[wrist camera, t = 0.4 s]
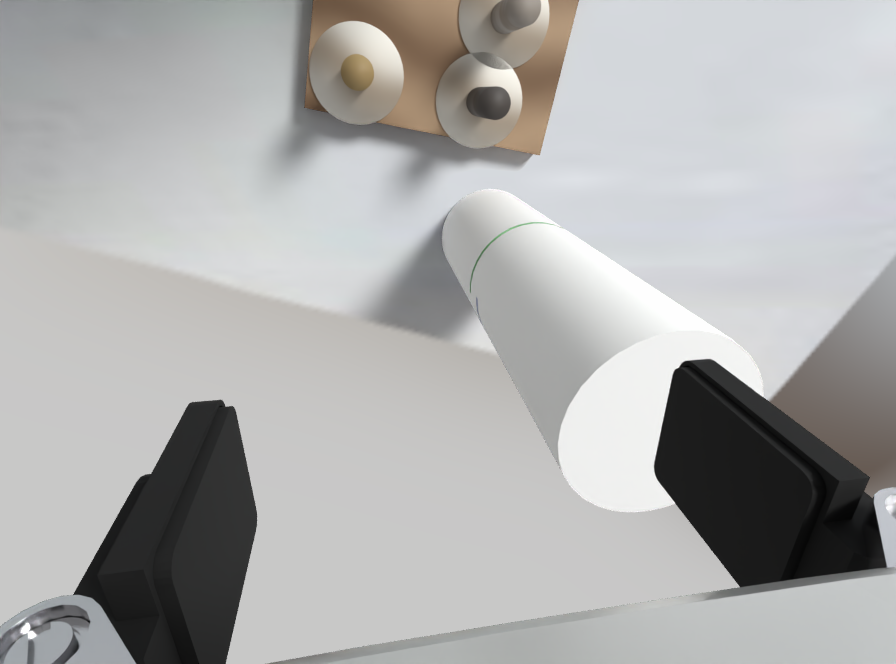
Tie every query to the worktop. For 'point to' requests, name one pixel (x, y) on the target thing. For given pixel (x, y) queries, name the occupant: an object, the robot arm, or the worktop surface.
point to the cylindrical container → (581, 343)
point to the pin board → (441, 66)
